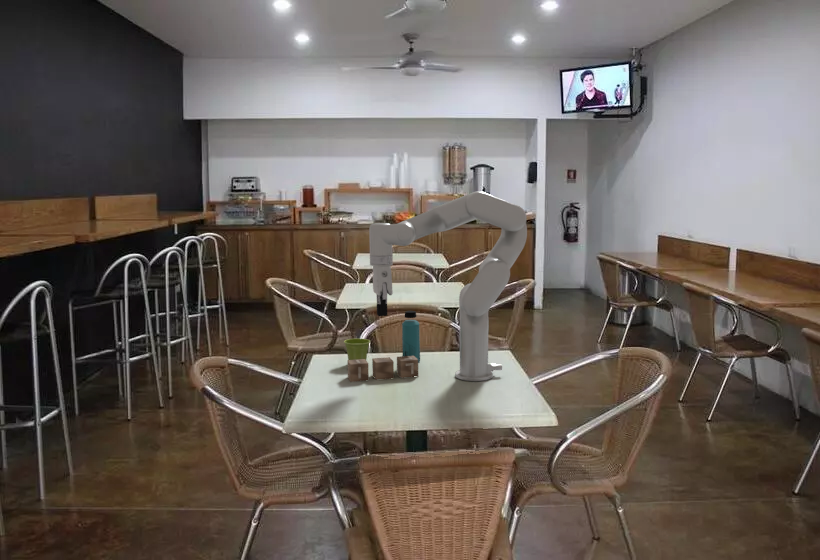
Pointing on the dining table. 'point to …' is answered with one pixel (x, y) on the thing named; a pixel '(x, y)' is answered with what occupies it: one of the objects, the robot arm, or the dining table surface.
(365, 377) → the block one
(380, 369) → the plain block
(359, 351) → the plant pot
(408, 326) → the beverage bottle
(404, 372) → the block seven
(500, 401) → the dining table surface
